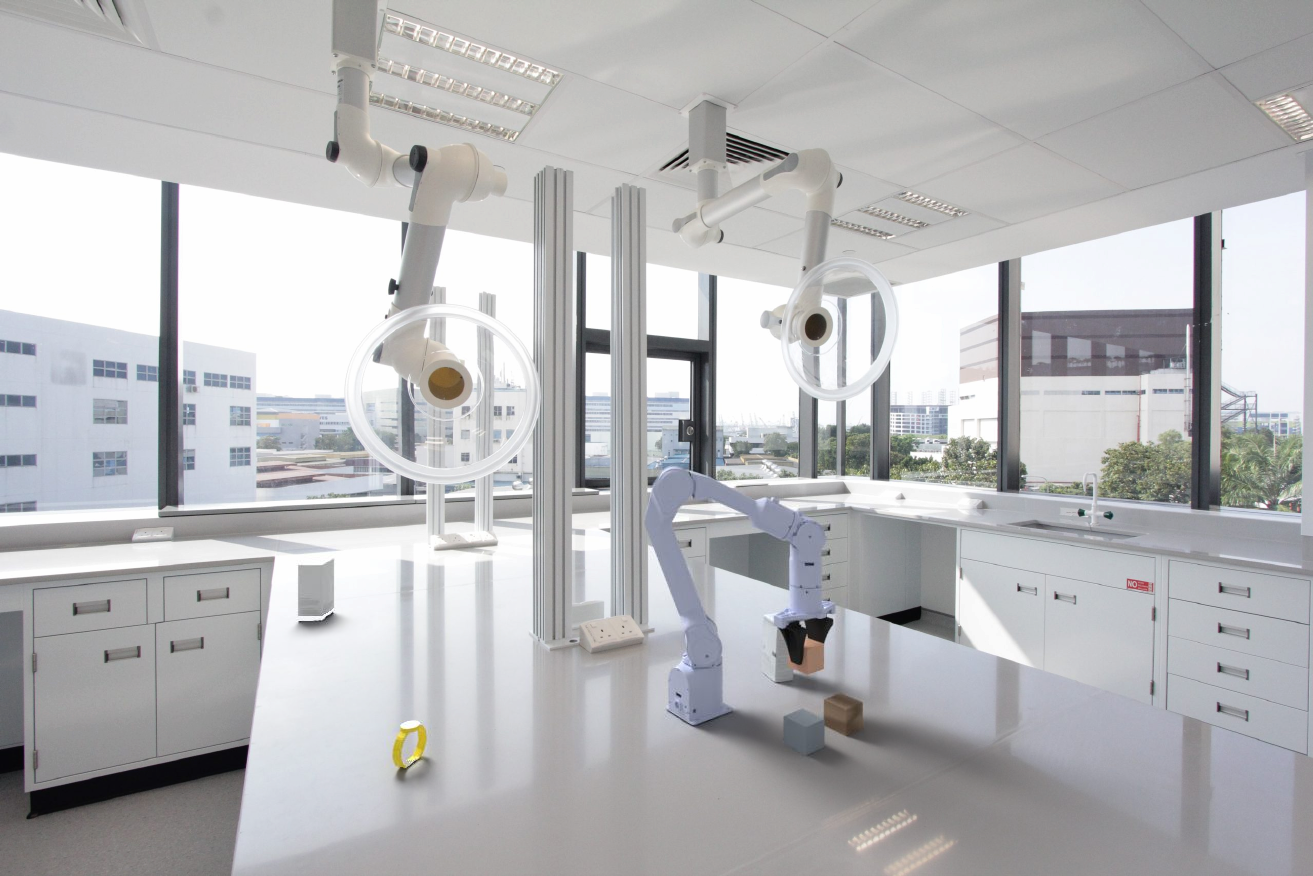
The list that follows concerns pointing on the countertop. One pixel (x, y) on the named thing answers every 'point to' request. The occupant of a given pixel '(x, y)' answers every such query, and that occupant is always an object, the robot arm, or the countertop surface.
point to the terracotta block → (810, 658)
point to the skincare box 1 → (316, 587)
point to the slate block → (804, 731)
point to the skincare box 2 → (775, 652)
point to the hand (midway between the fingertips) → (805, 659)
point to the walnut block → (843, 714)
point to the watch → (404, 731)
